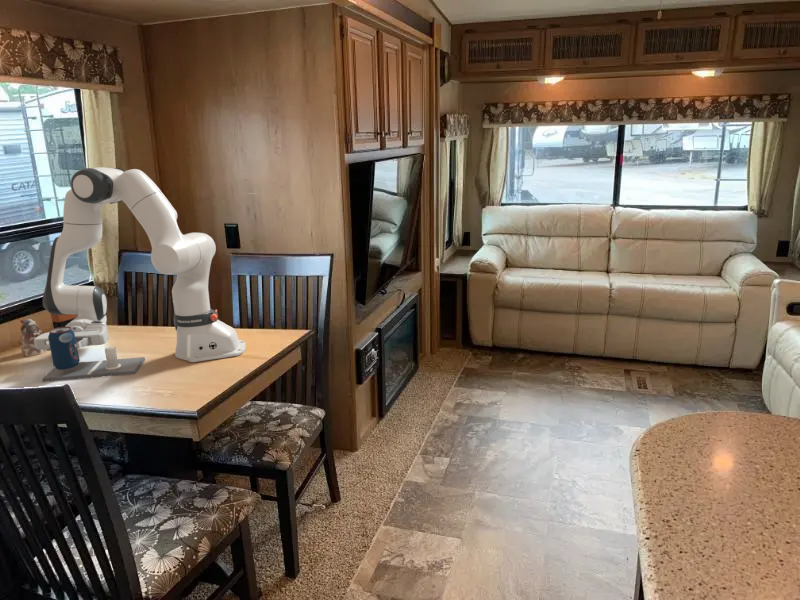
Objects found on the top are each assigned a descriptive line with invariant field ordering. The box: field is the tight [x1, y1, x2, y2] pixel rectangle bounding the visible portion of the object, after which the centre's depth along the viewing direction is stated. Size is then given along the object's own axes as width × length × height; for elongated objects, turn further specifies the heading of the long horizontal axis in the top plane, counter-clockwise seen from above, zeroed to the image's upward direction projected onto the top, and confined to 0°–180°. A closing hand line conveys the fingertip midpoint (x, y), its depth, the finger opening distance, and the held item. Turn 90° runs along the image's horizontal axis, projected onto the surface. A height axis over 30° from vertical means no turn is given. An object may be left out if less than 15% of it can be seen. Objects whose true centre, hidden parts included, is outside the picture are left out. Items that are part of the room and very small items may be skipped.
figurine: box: [20, 318, 47, 357], centre depth 198 cm, size 7×7×12 cm
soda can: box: [48, 327, 80, 370], centre depth 177 cm, size 7×7×12 cm
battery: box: [50, 313, 77, 329], centre depth 218 cm, size 4×7×10 cm, turn 148°
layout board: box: [41, 346, 146, 383], centre depth 181 cm, size 26×12×7 cm, turn 99°
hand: (62, 347), depth 176 cm, fingers closed on soda can, 7 cm apart
